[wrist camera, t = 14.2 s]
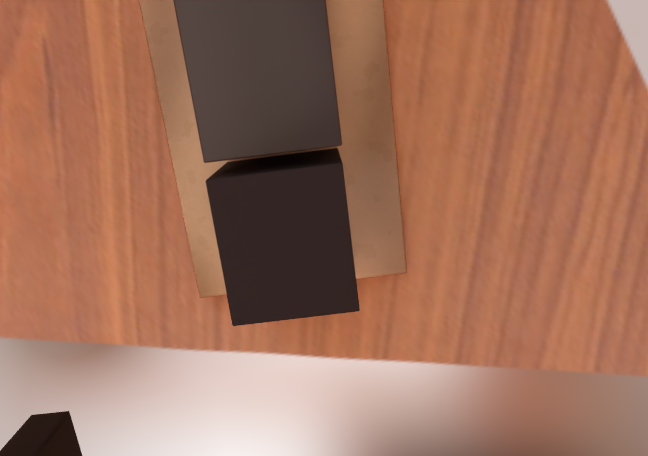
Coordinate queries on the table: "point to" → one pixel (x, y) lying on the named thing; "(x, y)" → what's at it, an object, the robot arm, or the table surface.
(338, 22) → the board
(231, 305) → the black cube
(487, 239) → the table surface
